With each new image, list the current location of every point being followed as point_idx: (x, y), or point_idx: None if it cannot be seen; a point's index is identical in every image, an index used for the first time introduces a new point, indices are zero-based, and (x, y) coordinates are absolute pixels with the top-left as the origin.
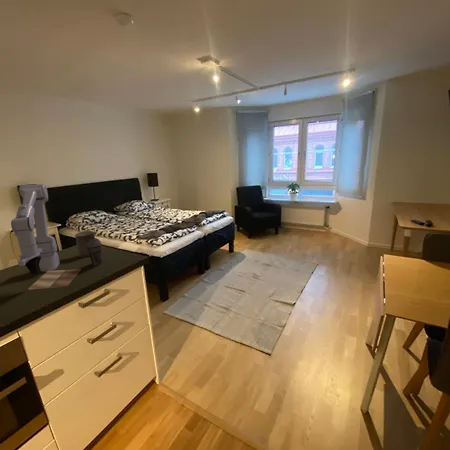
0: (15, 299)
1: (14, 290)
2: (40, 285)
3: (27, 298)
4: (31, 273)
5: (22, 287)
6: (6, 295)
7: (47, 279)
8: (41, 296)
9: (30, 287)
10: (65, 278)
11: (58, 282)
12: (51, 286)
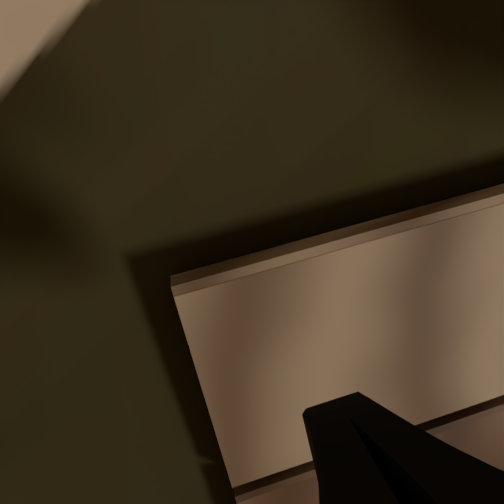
0: (8, 252)
1: (209, 45)
2: (280, 361)
3: (50, 372)
4: (307, 430)
5: (286, 94)
6: (79, 42)
7: (423, 326)
8: (109, 481)
9: (220, 288)
10: None
11: None
12: (267, 489)
